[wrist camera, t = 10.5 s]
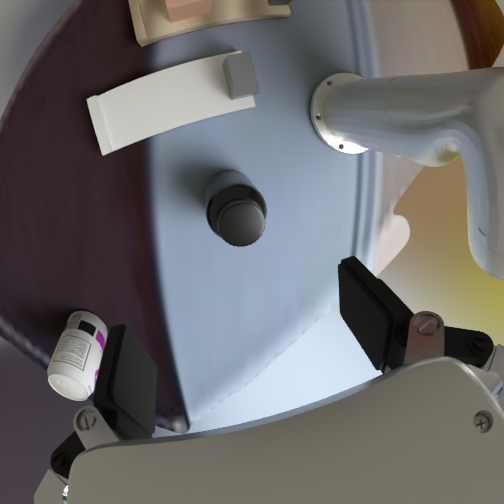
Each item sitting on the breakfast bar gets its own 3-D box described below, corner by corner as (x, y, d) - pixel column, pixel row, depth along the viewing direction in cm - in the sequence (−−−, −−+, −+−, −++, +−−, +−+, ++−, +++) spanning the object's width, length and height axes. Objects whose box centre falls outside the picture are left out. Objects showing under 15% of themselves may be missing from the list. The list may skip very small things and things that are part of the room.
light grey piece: (239, 53, 28) (248, 39, 22) (252, 107, 32) (264, 104, 26) (94, 100, 27) (74, 97, 21) (109, 152, 31) (92, 160, 25)
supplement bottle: (214, 223, 39) (221, 265, 29) (196, 180, 36) (196, 207, 25) (259, 206, 39) (283, 242, 29) (244, 162, 36) (264, 181, 25)
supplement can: (116, 331, 45) (101, 396, 32) (91, 345, 45) (74, 406, 32) (86, 301, 41) (60, 365, 28) (62, 319, 41) (37, 378, 28)
